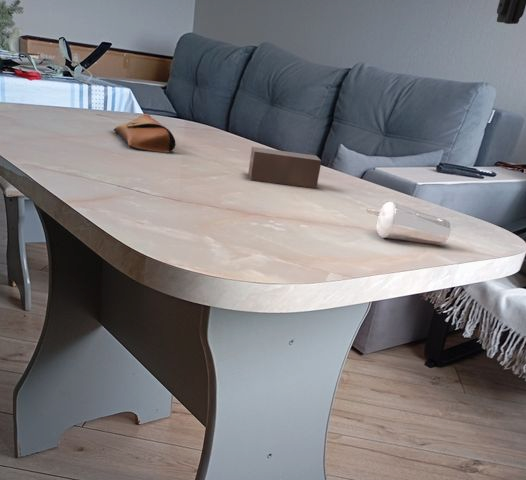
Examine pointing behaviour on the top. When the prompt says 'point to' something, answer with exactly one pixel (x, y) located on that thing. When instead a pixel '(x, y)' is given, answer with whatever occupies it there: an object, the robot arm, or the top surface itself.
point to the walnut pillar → (284, 167)
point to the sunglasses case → (147, 134)
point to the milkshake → (410, 225)
